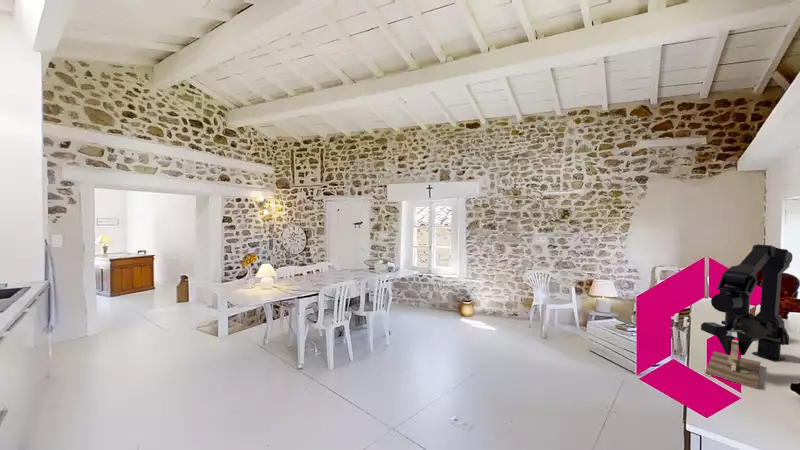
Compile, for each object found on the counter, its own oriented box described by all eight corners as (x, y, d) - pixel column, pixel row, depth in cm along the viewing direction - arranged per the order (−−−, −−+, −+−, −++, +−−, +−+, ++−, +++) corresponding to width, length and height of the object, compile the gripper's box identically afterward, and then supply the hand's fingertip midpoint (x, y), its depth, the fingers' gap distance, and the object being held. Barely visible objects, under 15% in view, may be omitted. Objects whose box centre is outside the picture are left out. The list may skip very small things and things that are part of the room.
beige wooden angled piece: (727, 362, 122) (729, 339, 121) (739, 364, 119) (741, 341, 119) (727, 369, 116) (728, 345, 115) (739, 373, 114) (741, 348, 113)
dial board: (713, 355, 131) (714, 350, 131) (760, 366, 122) (760, 361, 122) (705, 375, 116) (705, 369, 116) (757, 389, 107) (757, 383, 107)
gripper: (729, 315, 110) (727, 364, 110) (792, 316, 109) (789, 366, 110) (700, 305, 121) (698, 350, 121) (757, 306, 120) (755, 351, 121)
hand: (735, 354), depth 118 cm, fingers closed on beige wooden angled piece, 4 cm apart
